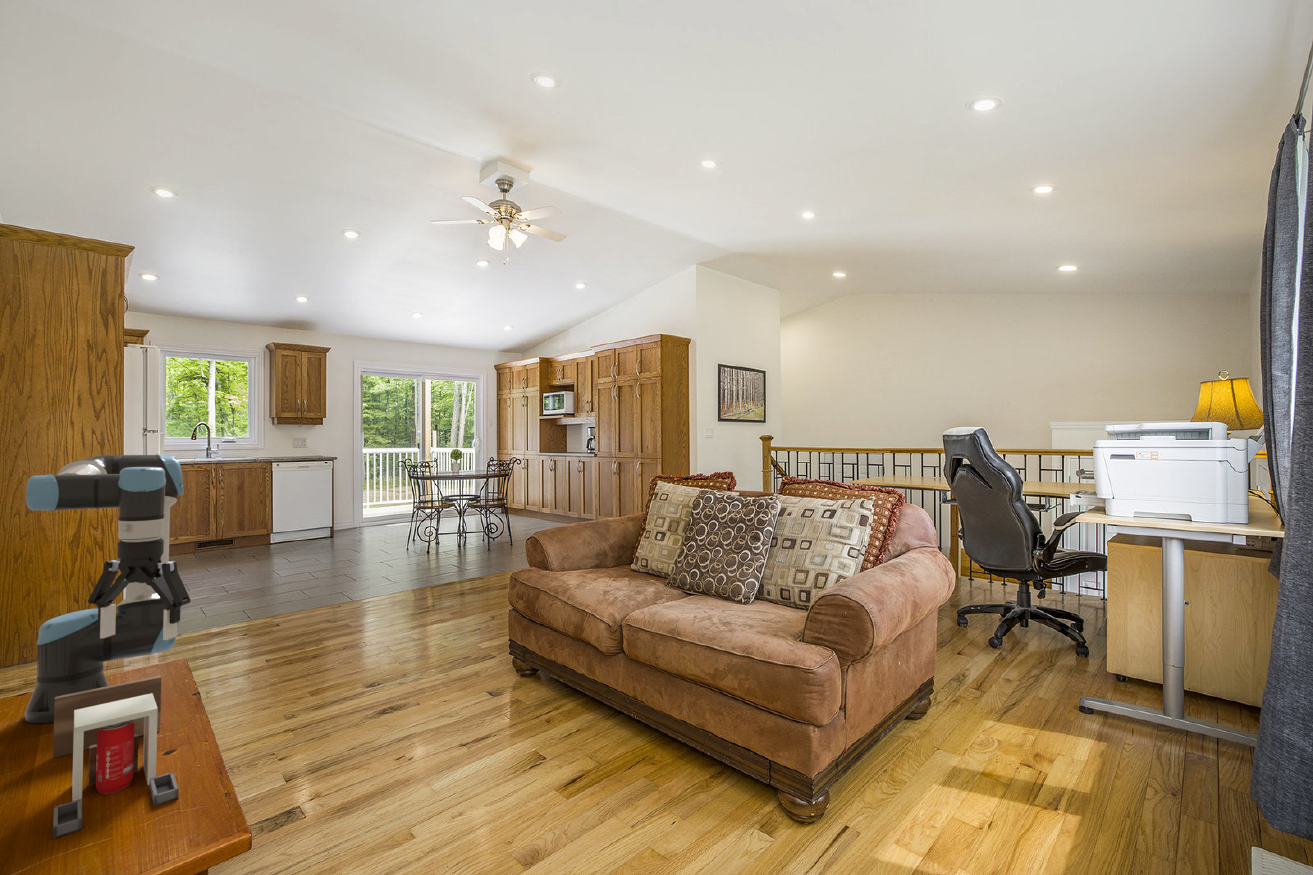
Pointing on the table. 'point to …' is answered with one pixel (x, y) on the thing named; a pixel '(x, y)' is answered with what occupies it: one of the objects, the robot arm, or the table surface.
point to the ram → (92, 698)
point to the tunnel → (113, 715)
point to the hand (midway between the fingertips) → (138, 637)
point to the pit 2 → (163, 789)
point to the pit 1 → (67, 818)
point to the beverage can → (114, 757)
